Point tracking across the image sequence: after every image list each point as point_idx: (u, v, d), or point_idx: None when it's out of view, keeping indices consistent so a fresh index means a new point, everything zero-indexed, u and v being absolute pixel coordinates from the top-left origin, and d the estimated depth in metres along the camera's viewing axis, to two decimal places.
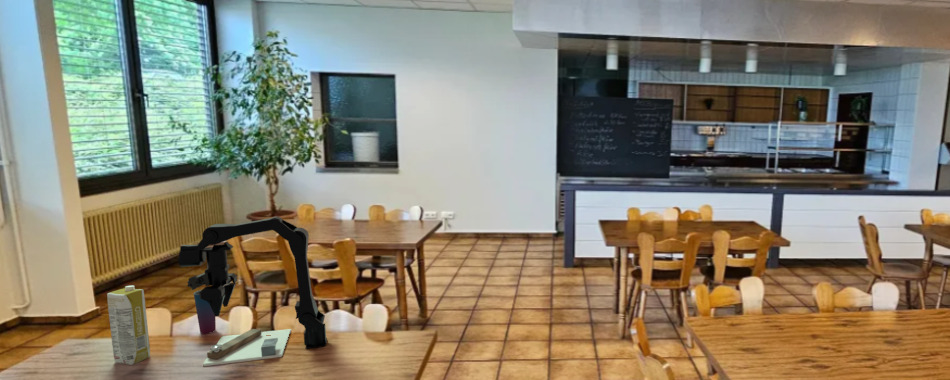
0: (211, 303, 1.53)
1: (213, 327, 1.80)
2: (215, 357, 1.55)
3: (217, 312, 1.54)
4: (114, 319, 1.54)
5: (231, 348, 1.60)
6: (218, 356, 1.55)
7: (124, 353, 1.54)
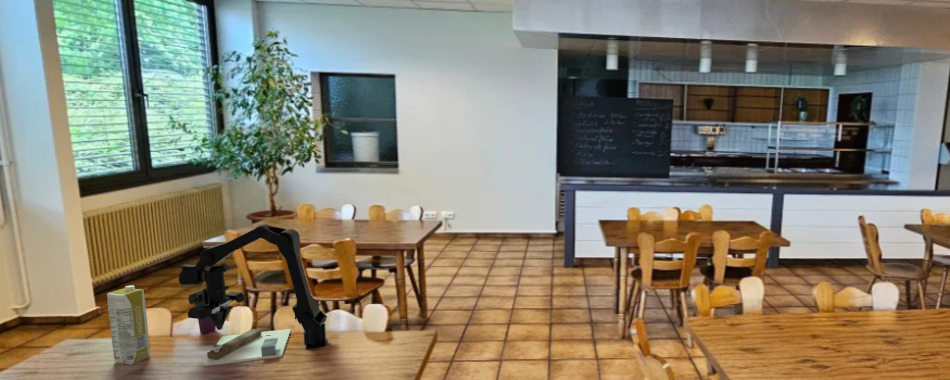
0: (212, 317, 1.63)
1: (213, 327, 1.80)
2: (215, 357, 1.55)
3: (218, 326, 1.64)
4: (114, 319, 1.54)
5: (231, 348, 1.60)
6: (218, 356, 1.55)
7: (124, 353, 1.54)
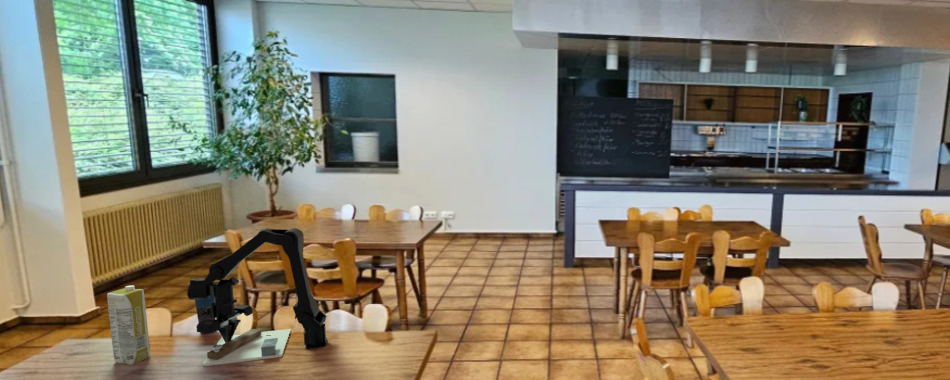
0: (220, 331, 1.63)
1: None
2: (215, 357, 1.55)
3: (226, 340, 1.64)
4: (114, 319, 1.54)
5: (231, 348, 1.60)
6: (218, 356, 1.55)
7: (124, 353, 1.54)
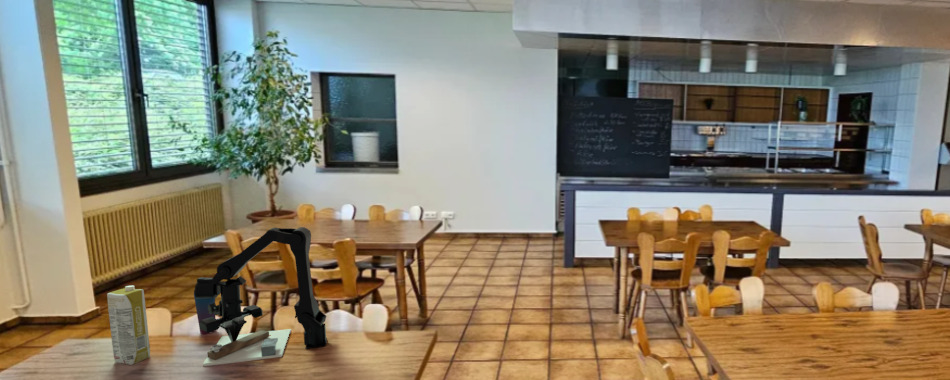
0: (226, 330, 1.64)
1: None
2: (213, 357, 1.55)
3: (231, 339, 1.64)
4: (114, 319, 1.54)
5: (232, 349, 1.60)
6: (216, 356, 1.55)
7: (124, 353, 1.54)
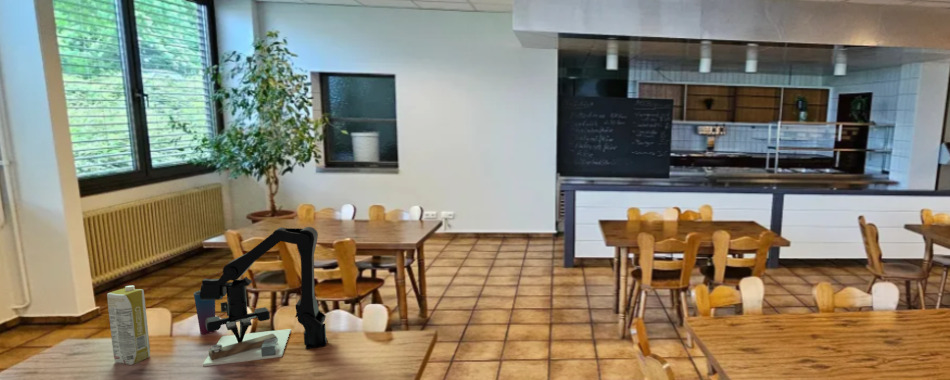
0: None
1: None
2: (211, 357, 1.55)
3: (237, 340, 1.63)
4: (114, 319, 1.54)
5: (232, 351, 1.58)
6: (213, 357, 1.55)
7: (124, 353, 1.54)
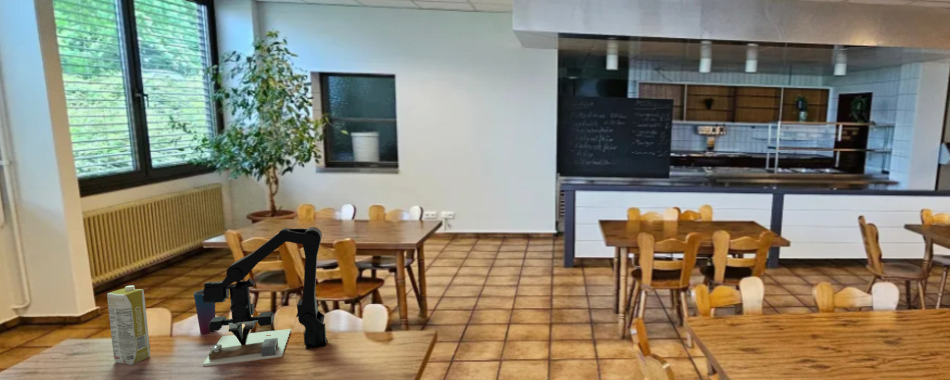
0: None
1: None
2: None
3: None
4: (114, 319, 1.54)
5: (230, 353, 1.56)
6: (211, 357, 1.55)
7: (124, 353, 1.54)
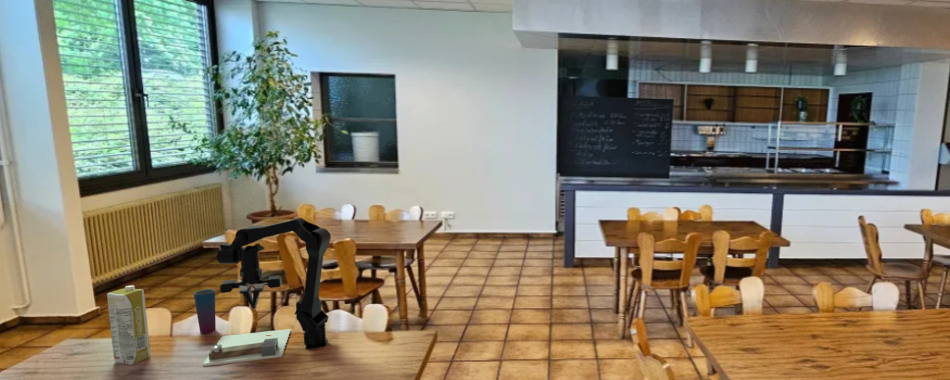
0: None
1: (213, 327, 1.80)
2: None
3: None
4: (114, 319, 1.54)
5: (229, 353, 1.56)
6: (210, 357, 1.55)
7: (124, 353, 1.54)
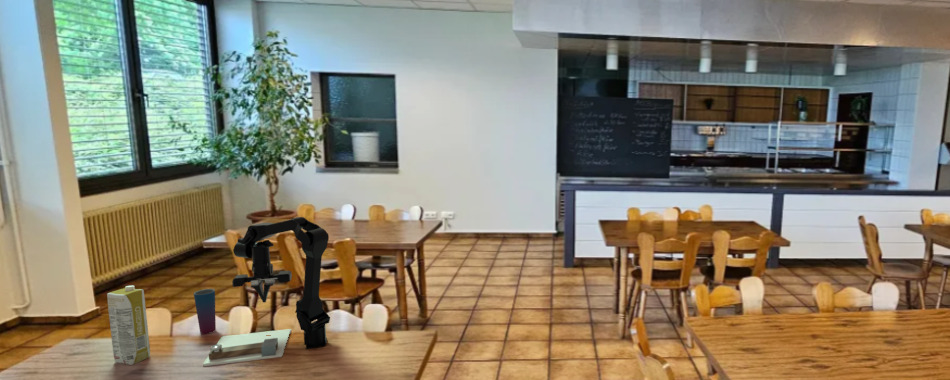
0: None
1: (213, 327, 1.80)
2: None
3: None
4: (114, 319, 1.54)
5: (229, 353, 1.56)
6: (210, 357, 1.55)
7: (124, 353, 1.54)
